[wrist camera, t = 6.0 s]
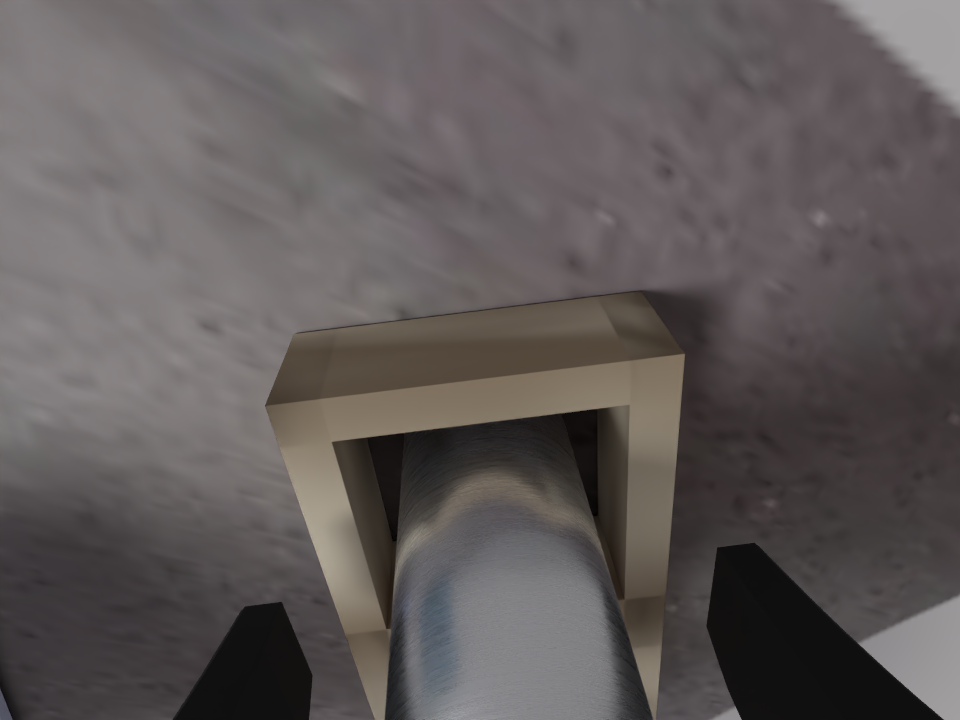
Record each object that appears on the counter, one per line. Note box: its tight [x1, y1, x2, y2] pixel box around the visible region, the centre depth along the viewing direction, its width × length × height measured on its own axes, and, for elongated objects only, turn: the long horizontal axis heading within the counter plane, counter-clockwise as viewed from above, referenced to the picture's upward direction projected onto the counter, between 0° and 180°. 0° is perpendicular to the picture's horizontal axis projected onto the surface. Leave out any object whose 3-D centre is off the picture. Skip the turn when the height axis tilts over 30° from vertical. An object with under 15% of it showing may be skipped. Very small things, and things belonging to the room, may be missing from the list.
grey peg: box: [385, 413, 654, 720], centre depth 11 cm, size 4×4×8 cm
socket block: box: [265, 291, 685, 720], centre depth 13 cm, size 14×7×6 cm, turn 6°
